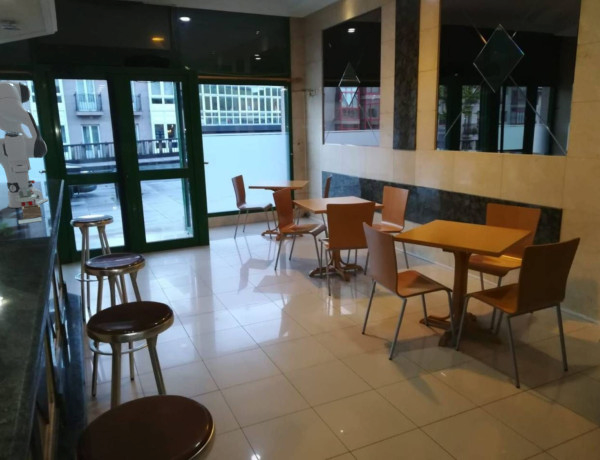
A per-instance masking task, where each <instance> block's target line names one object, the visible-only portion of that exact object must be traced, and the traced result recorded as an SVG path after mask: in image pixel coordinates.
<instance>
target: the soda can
mask: <svg viewBox="0 0 600 460" xmlns="http://www.w3.org/2000/svg"><path fill="white" fill-rule="evenodd" d="M27 190H31V195H34V192H33V191H32V189H27ZM20 191H22V190H20ZM19 196H20V195H19ZM33 200H34V201H27V202H21V207H20V208H22V207H23V206H31V205H36V201H35V199H33Z"/></svg>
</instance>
